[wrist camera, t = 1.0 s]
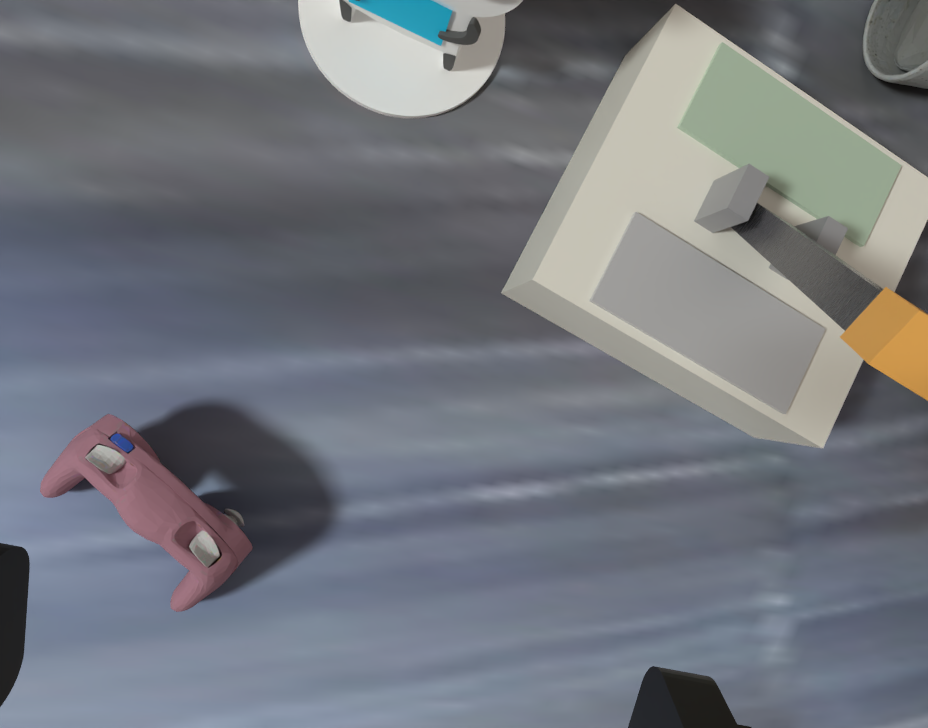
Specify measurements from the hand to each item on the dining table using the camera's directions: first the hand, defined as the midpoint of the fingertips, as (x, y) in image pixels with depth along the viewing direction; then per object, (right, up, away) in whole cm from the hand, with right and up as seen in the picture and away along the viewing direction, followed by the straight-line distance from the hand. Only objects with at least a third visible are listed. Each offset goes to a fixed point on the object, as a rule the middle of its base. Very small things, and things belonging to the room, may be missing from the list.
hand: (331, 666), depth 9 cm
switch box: (+15, +11, +33) cm, 38 cm away
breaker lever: (+17, +11, +26) cm, 33 cm away
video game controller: (-14, -3, +27) cm, 31 cm away
